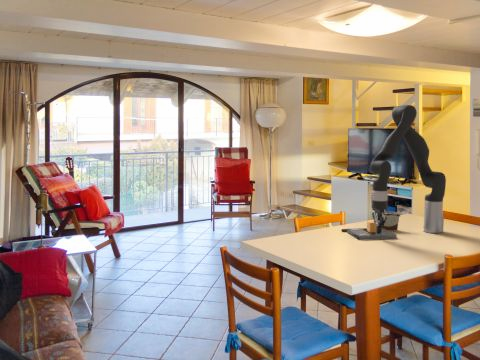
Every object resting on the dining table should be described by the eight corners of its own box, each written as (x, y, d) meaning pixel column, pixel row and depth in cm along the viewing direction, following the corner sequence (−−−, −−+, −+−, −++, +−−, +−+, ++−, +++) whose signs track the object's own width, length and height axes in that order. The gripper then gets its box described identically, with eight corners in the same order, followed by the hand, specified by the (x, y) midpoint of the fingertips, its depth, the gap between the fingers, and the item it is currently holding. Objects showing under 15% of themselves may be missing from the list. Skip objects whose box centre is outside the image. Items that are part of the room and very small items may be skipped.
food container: (397, 228, 269) (397, 211, 268) (399, 230, 263) (400, 213, 262) (375, 228, 270) (375, 210, 269) (377, 230, 264) (377, 212, 263)
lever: (374, 233, 253) (374, 221, 252) (377, 235, 249) (377, 222, 248) (366, 233, 253) (367, 221, 252) (369, 235, 249) (370, 223, 248)
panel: (381, 231, 262) (382, 227, 262) (396, 238, 244) (396, 234, 244) (347, 232, 260) (347, 228, 259) (359, 239, 242) (359, 235, 242)
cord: (346, 232, 259) (346, 230, 258) (349, 232, 259) (349, 230, 259) (357, 239, 242) (357, 237, 242) (360, 239, 242) (360, 236, 242)
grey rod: (359, 230, 263) (359, 228, 263) (360, 231, 262) (360, 228, 262) (340, 231, 262) (340, 228, 262) (341, 231, 261) (341, 229, 260)
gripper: (392, 201, 234) (391, 235, 236) (381, 197, 247) (380, 229, 249) (378, 201, 233) (377, 235, 235) (367, 197, 246) (366, 230, 248)
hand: (378, 232), depth 242 cm, fingers closed
